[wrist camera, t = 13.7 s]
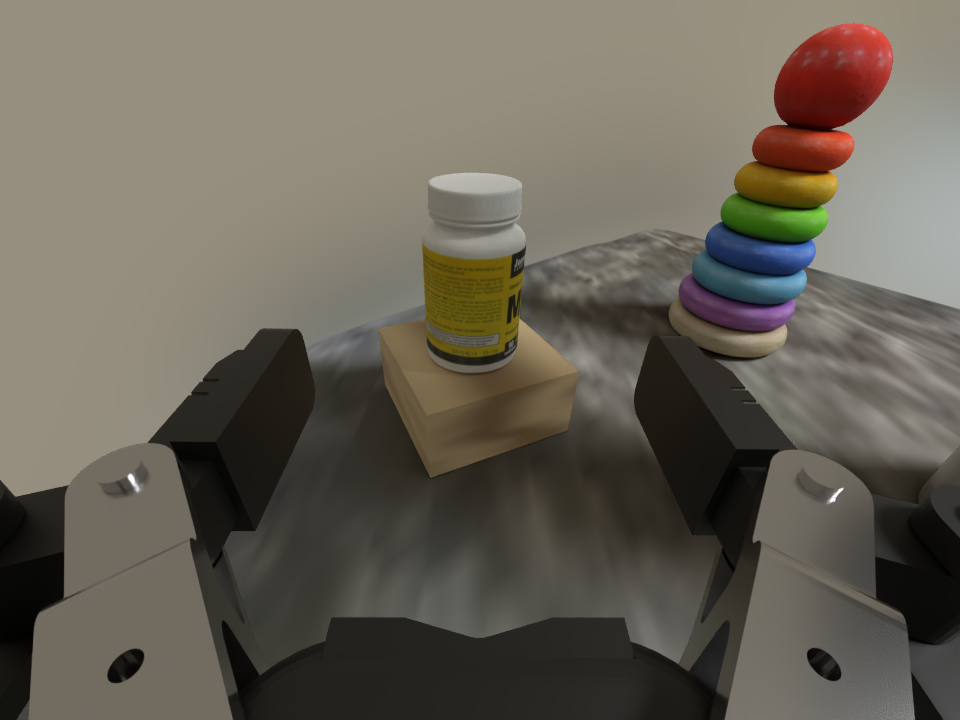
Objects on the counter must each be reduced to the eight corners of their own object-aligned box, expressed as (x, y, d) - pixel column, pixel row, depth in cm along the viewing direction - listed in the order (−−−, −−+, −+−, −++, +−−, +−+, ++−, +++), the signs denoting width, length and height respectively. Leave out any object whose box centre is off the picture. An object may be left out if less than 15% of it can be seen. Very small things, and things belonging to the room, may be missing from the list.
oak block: (499, 356, 30) (503, 303, 27) (567, 430, 24) (579, 371, 21) (385, 384, 27) (378, 328, 24) (430, 478, 21) (426, 415, 18)
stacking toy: (734, 374, 29) (895, 11, 18) (644, 321, 34) (725, 22, 24) (803, 346, 32) (975, 24, 21) (710, 302, 37) (808, 31, 27)
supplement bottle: (521, 377, 21) (539, 197, 16) (423, 376, 21) (412, 194, 16) (512, 327, 25) (524, 170, 20) (430, 326, 25) (422, 168, 20)
